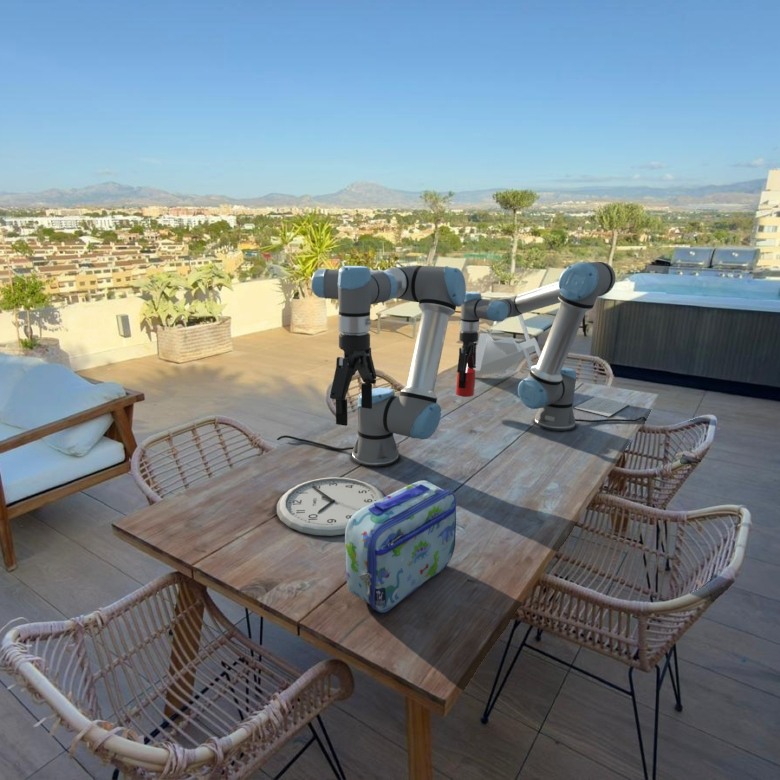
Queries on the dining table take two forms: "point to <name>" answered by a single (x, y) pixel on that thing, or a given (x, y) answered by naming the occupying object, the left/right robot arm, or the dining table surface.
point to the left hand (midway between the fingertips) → (354, 415)
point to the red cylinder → (467, 384)
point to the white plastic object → (503, 352)
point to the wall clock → (325, 504)
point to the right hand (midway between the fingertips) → (465, 385)
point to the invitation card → (601, 406)
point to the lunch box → (399, 543)
